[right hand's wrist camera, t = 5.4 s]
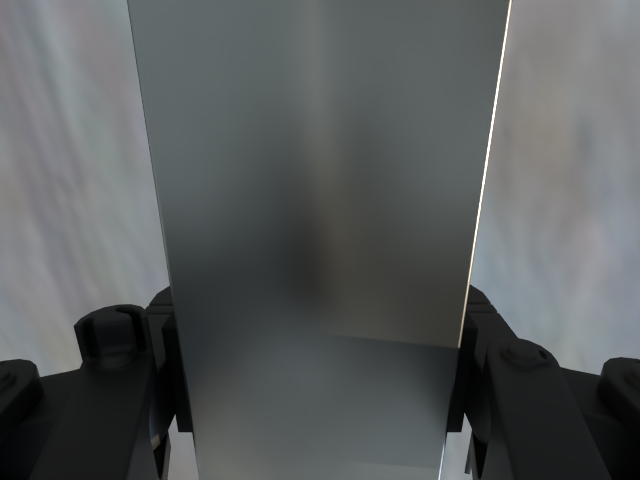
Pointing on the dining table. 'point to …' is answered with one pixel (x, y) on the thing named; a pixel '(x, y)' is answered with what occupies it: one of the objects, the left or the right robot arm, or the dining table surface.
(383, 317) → the bar
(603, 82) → the dining table surface
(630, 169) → the dining table surface
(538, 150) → the dining table surface
